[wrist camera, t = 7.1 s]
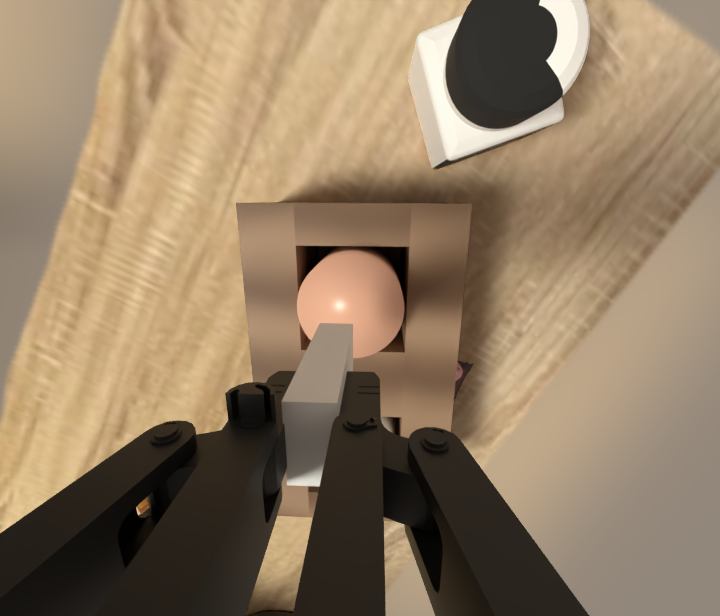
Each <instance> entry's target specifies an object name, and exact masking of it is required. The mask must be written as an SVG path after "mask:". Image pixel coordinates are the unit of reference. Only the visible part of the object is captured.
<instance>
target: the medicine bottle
mask: <svg viewBox="0 0 720 616" xmlns="http://www.w3.org/2000/svg"><path fill="white" fill-rule="evenodd" d="M589 39H590V22H589V14H588V10H587V6H586V4H585V1H584V0H472V1H471V2H470V4H469V5H468V7H467V9H466V11H465V13H464V15H461V16H459V17H456V18H454V19H452V20H449V21H447V22H445V23H442V24H440V25H437V26H435V27H433V28H430V29H428V30H426V31H423V32H421V33H420V34H419V35H418V37H417V40H416V44H415V48H414V53H413V57H412V61H411V66H410V70H409V74H408V81H409V85H410V89H411V92H412V96H413V100H414V104H415V108H416V111H417V115H418V119H419V123H420V126H421V130H422V134H423V138H424V141H425V145H426V149H427V153H428V156H429V160H430V164H431V167H432V168H433V169H439V168H442V167H445V166H447V165H450V164H453V163H456V162H459V161H461V160H464V159H467V158H470V157H472V156H475V155H478V154H481V153H484V152H486V151H489V150H492V149H495V148H497V147H500V146H503V145H506V144H508V143H511V142H514V141H517V140H519V139H522V138H524V137H526V136H528V135H531V134H533V133H535V132H537V131H540V130H542V129H544V128H547V127H549V126H551V125H553V124H556V123H558V122H560V121H561V120H562V119H563V117H564V107H563V101H562V96H563V95H564V94H565V93H566V92H567V91H568V89H569V88H570V87H571V86H572V84H573V83H574V81H575V80H576V78H577V76H578V74H579V73H580V71H581V69H582V66H583V64H584V61H585V58H586V55H587V51H588V46H589Z"/></svg>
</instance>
